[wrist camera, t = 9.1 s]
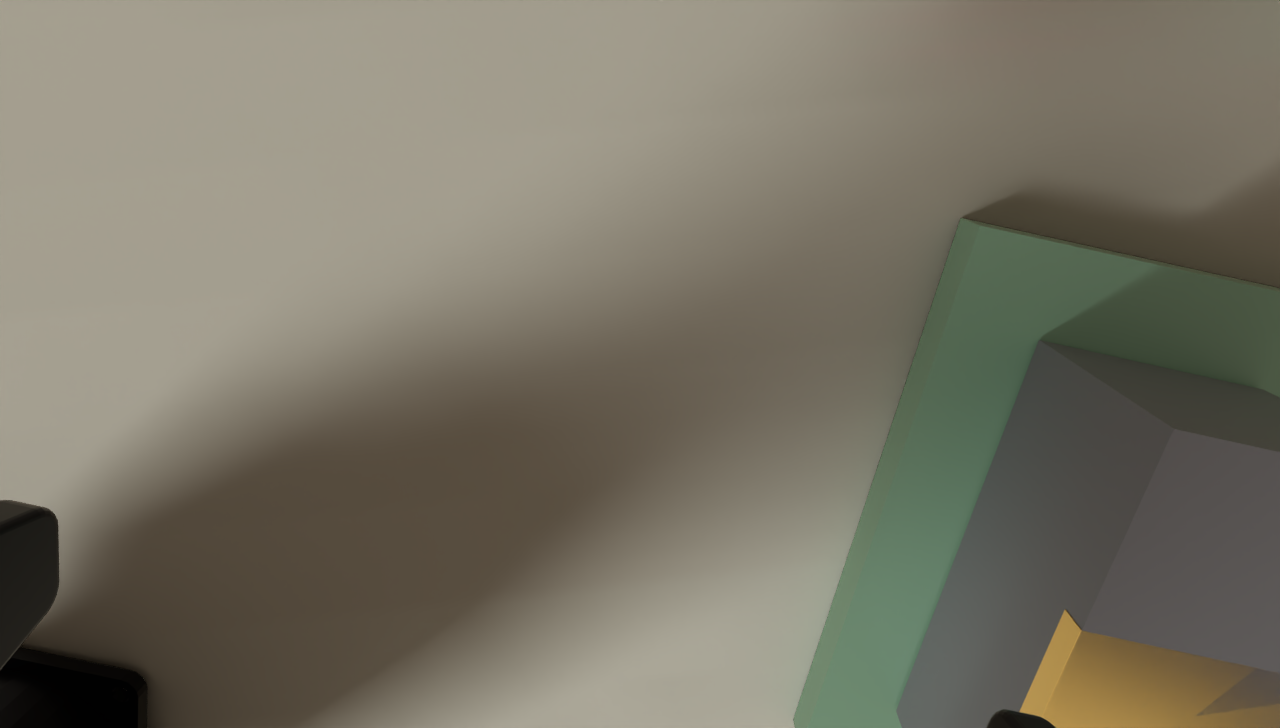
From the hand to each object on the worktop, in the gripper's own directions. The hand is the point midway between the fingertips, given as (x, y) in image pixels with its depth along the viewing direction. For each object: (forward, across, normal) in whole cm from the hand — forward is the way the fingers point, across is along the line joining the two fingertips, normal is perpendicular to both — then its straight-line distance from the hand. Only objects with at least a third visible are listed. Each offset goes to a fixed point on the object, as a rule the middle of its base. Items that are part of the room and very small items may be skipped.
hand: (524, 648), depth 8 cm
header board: (+12, -12, +3) cm, 17 cm away
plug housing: (+11, -11, +3) cm, 16 cm away
